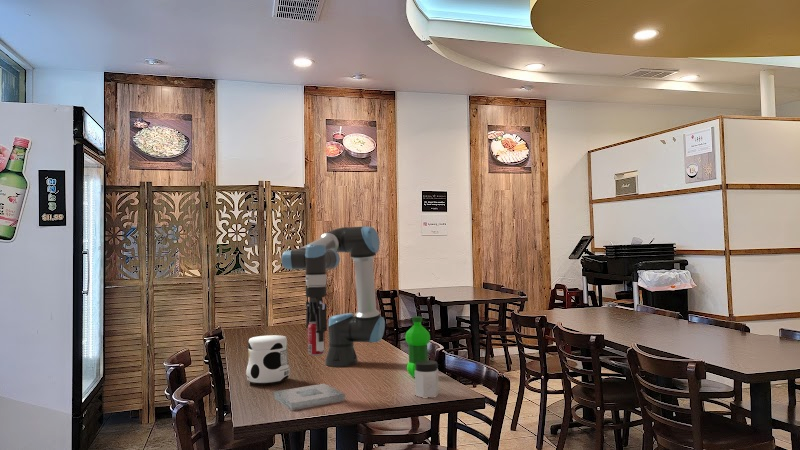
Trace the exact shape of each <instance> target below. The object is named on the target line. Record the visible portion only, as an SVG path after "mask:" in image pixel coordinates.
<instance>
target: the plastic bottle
mask: <svg viewBox="0 0 800 450" xmlns="http://www.w3.org/2000/svg"><path fill="white" fill-rule="evenodd" d="M411 318H412V323H413V325H412V326H410V328H409V329H408V330H407V331H406V333H405V341H406V343H407V344H408V362H407V365H406V370H407V372H408V374H409V375H410V376H411V377H412V378H413V377H415V370H416V369H415V363H416V362H417V361H422V360H429V359H428V344H429V343H430V342H431V335H430V331H428V330H427V329H426V328H425V326H423V325H422V322H423V316H412V317H411Z"/></svg>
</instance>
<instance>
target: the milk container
mask: <svg viewBox="0 0 800 450" xmlns="http://www.w3.org/2000/svg"><path fill="white" fill-rule="evenodd" d="M247 347H248V349H247V351H248V361H247V366H246V368H245V369H246V371H245V374H246V375H245V376H246V380H247V381H248V382H249V383H250V384H253V385H259V386H262V385H263V386H266V385H267V386H268V385H275V384H280V383H283V382H285V381H286V380H287V379H289V376H290V369H291V367H290V364H289V359H288V340H287V336H285V335H280V334H279V335H278V334H275V335H273V334H271V335H270V334H268V335H259V336H253V337H250V338H249V339H248V345H247Z"/></svg>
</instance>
